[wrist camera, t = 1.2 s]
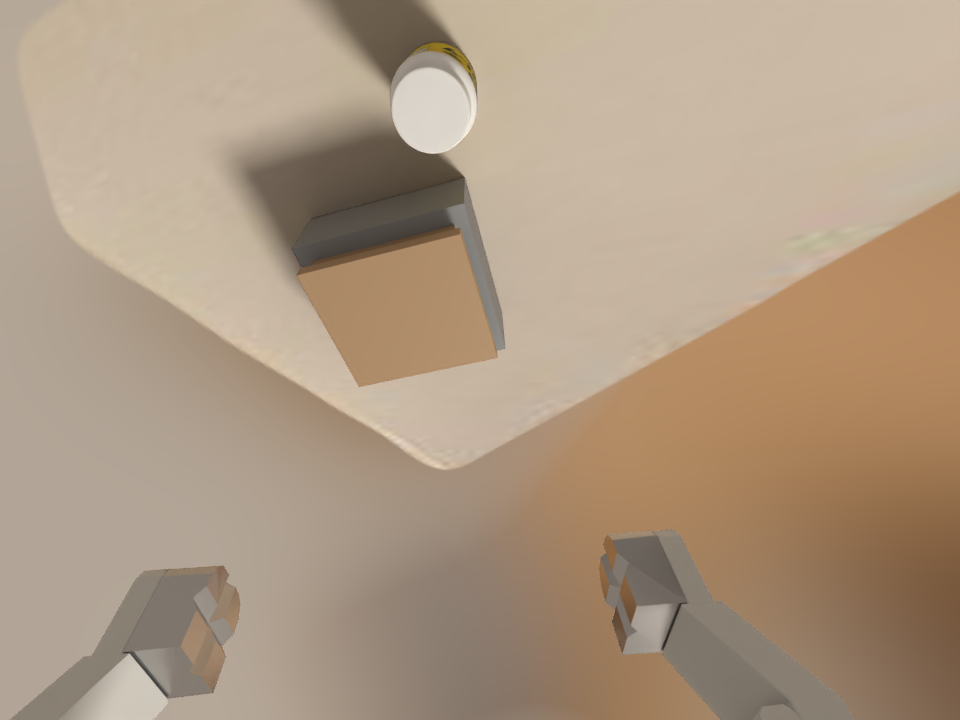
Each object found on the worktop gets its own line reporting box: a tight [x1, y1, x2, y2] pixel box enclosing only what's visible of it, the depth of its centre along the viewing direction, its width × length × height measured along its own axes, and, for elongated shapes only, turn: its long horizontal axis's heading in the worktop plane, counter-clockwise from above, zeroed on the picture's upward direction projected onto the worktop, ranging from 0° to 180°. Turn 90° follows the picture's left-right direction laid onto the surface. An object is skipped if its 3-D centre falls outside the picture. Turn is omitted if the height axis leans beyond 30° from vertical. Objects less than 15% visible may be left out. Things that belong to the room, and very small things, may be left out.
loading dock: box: [292, 178, 505, 387], centre depth 36 cm, size 12×12×7 cm
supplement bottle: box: [390, 42, 477, 154], centre depth 27 cm, size 5×5×8 cm
